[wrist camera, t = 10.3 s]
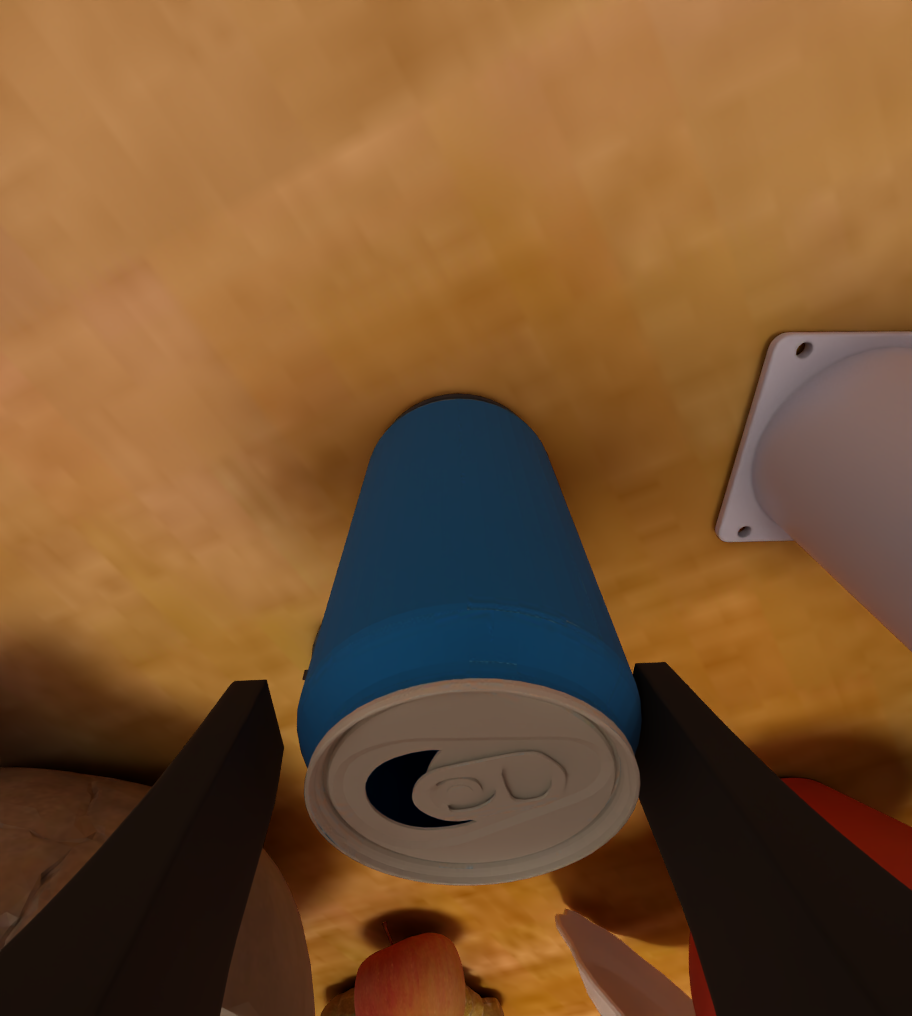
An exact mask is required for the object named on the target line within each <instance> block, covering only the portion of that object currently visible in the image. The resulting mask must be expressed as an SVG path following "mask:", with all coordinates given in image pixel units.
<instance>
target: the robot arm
mask: <svg viewBox="0 0 912 1016" xmlns="http://www.w3.org/2000/svg"><path fill="white" fill-rule="evenodd" d="M802 343H805V348H804V350H803V352H801V353H800V354H799V355H796V350H797V348H798V347H799V346H800V345H801V344H802ZM744 526H746V527H745V529H744V530H742V531H740V532H738V531H739V529H740V528H742V527H744ZM715 533H716V535H717V536H718V537H719V538H720V539H721V540H722V541H725V542H753V541H796V542H797V543H798V544H799V545H800V546H801V547H802V548H803V549H804V550H805V551H806V552H807V553H808V554H809V555H810V556H811V557H812V558H813V559H815V560H816V561H817V562H818V563H819V564H820V565H821V566H822V567H823V568H824V569H825V570H826V571H827V572H828V573H829V574H830V575H831V576H832V577H833V578H835V579H836V580H837V581H838V582H839V583H840V584H841V585H842V586H843V587H844V588H845V589H846V590H847V591H848V592H849V593H850V594H851V595H852V596H853V597H855V598H856V599H857V600H858V601H859V602H860V603H861V604H862V605H863V606H864V607H865V608H866V609H867V610H868V611H869V612H870V613H871V614H872V615H873V616H875V617H876V618H877V619H878V620H879V621H880V622H881V623H882V624H883V625H884V626H885V627H886V628H887V629H888V630H889V631H890V632H891V633H892V634H893V635H895V636H896V637H897V638H898V639H899V640H900V641H901V642H902V643H903V644H904V645H905V646H906V647H907V648H908V649H909V650H910V651H911V652H912V331H881V332H787V333H782V334H780V335H778V336H777V337H775V339H774V340H773V341H772V342H771V344H770V346H769V348H768V351H767V354H766V358H765V361H764V364H763V368H762V371H761V374H760V378H759V381H758V385H757V388H756V391H755V395H754V398H753V402H752V405H751V408H750V412H749V415H748V418H747V422H746V425H745V429H744V432H743V435H742V439H741V442H740V446H739V449H738V452H737V456H736V459H735V462H734V466H733V469H732V473H731V476H730V479H729V483H728V486H727V490H726V493H725V496H724V500H723V503H722V506H721V510H720V513H719V517H718V520H717V523H716V527H715ZM633 677H634V680H635V682H636V685H637V689H638V692H639V696H640V701H641V714H642V724H641V732H640V739H639V744H638V747H637V750H636V753H635V759H636V762H637V765H638V768H639V772H640V784H641V785H640V792H639V799H640V802H641V804H642V807H643V810H644V812H645V815H646V817H647V820H648V822H649V825H650V828H651V830H652V833H653V835H654V838H655V840H656V843H657V845H658V848H659V850H660V853H661V855H662V858H663V860H664V863H665V865H666V868H667V870H668V873H669V876H670V878H671V881H672V883H673V886H674V888H675V891H676V893H677V896H678V898H679V901H680V903H681V906H682V908H683V911H684V914H685V917H686V920H687V922H688V925H689V928H690V931H691V934H692V937H693V940H694V943H695V946H696V949H697V953H698V956H699V959H700V963H701V966H702V969H703V972H704V976H705V979H706V982H707V986H708V989H709V992H710V995H711V999H712V1002H713V1006H714V1009H715V1013H716V1016H912V890H911V889H909V888H908V887H907V886H906V885H904V884H903V883H902V882H900V881H899V880H898V879H897V878H895V877H894V876H893V875H891V874H890V873H889V872H888V871H886V870H885V869H884V868H883V867H881V866H880V865H879V864H878V863H877V862H875V861H874V860H873V859H872V858H870V857H869V856H868V855H867V854H866V853H864V852H863V851H862V850H861V849H859V848H858V847H857V846H856V845H855V844H853V843H852V842H851V841H850V840H849V839H847V838H846V837H845V836H844V835H842V834H841V833H840V832H839V831H838V830H837V829H835V828H834V827H833V826H832V825H831V824H830V823H828V822H827V821H826V820H825V819H824V818H823V817H822V816H820V815H819V814H818V813H817V812H816V811H815V810H814V809H813V808H811V807H810V806H809V805H808V804H807V803H806V802H805V801H804V800H803V799H802V798H800V797H799V796H798V795H797V794H796V793H795V792H794V791H793V790H792V789H791V788H790V787H788V786H787V785H786V784H785V783H784V782H783V781H782V780H781V779H780V778H779V777H778V776H777V775H776V774H775V773H774V772H773V771H771V770H770V769H769V768H768V767H767V766H766V765H765V764H764V763H763V762H762V761H761V760H760V759H759V758H758V757H757V756H756V755H755V754H754V753H753V752H752V751H751V750H750V749H749V748H748V747H747V746H746V745H745V744H744V743H743V742H742V741H741V740H740V739H739V738H738V737H737V736H736V735H735V734H734V733H733V732H732V731H731V730H730V729H729V728H728V727H727V726H726V725H725V724H724V723H723V722H722V721H721V720H720V719H719V718H718V717H717V716H716V715H715V714H714V713H713V711H712V710H711V709H710V708H709V707H708V706H707V705H706V704H705V703H704V702H703V701H702V700H701V699H700V698H699V697H698V696H697V695H696V694H695V693H694V692H693V690H692V689H691V688H690V687H689V686H688V685H687V684H686V683H685V682H684V681H683V680H682V679H681V678H680V677H679V676H678V675H677V674H676V673H675V672H674V671H673V669H672V668H671V667H670V666H669V665H668V664H667V663H666V662H658V663H635V667H634V671H633ZM283 751H284V745H283V742H282V738H281V734H280V730H279V726H278V722H277V718H276V714H275V711H274V707H273V703H272V699H271V695H270V691H269V687H268V683H267V680H248V681H234V682H233V683H232V684H231V685H230V686H229V687H228V689H227V690H226V691H225V693H224V694H223V695H222V697H221V698H220V699H219V701H218V702H217V704H216V705H215V706H214V708H213V709H212V710H211V712H210V713H209V714H208V716H207V717H206V718H205V720H204V721H203V722H202V724H201V725H200V726H199V728H198V729H197V730H196V732H195V733H194V734H193V736H192V737H191V738H190V739H189V741H188V742H187V743H186V745H185V746H184V747H183V749H182V750H181V751H180V752H179V754H178V755H177V756H176V757H175V759H174V760H173V761H172V762H171V764H170V765H169V766H168V767H167V769H166V770H165V771H164V772H163V774H162V775H161V776H160V777H159V779H158V780H157V781H156V782H155V784H154V785H153V786H152V787H151V789H150V790H149V791H148V792H147V794H146V795H145V796H144V797H143V798H142V800H141V801H140V802H139V803H138V804H137V805H136V807H135V808H134V809H133V810H132V811H131V812H130V814H129V815H128V816H127V817H126V818H125V819H124V820H123V822H122V823H121V824H120V825H119V826H118V827H117V829H116V830H115V831H114V832H113V833H112V834H111V835H110V837H109V838H108V839H107V840H106V841H105V842H104V844H103V845H102V846H101V847H100V848H99V849H98V850H97V851H96V853H95V854H94V855H93V856H92V857H91V858H90V859H89V860H88V861H87V862H86V863H85V865H84V866H83V867H82V868H81V869H80V870H79V871H78V872H77V873H76V874H75V875H74V876H73V877H72V879H71V880H70V881H69V882H68V883H67V884H66V885H65V886H64V887H63V888H62V889H61V890H60V891H59V892H58V893H57V894H56V895H55V896H54V897H53V898H52V899H51V900H50V901H49V902H48V904H47V905H46V906H45V907H44V908H43V909H42V910H41V911H40V912H39V913H38V914H37V915H36V916H35V917H34V918H33V919H32V920H31V921H30V922H29V923H28V924H27V925H26V926H25V927H24V928H23V929H22V930H21V931H20V932H19V933H18V934H17V935H15V936H14V937H13V938H12V939H11V940H10V941H9V942H8V943H7V944H6V945H5V946H4V947H3V948H2V949H1V950H0V1016H220V1013H221V1008H222V1003H223V998H224V993H225V988H226V983H227V978H228V973H229V968H230V964H231V960H232V956H233V952H234V948H235V944H236V940H237V936H238V932H239V929H240V925H241V922H242V918H243V915H244V911H245V908H246V904H247V901H248V897H249V894H250V890H251V886H252V883H253V879H254V876H255V872H256V869H257V865H258V862H259V858H260V855H261V851H262V847H263V844H264V840H265V837H266V833H267V829H268V826H269V822H270V819H271V815H272V811H273V807H274V804H275V799H276V793H277V787H278V782H279V776H280V770H281V763H282V757H283Z"/></svg>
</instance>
